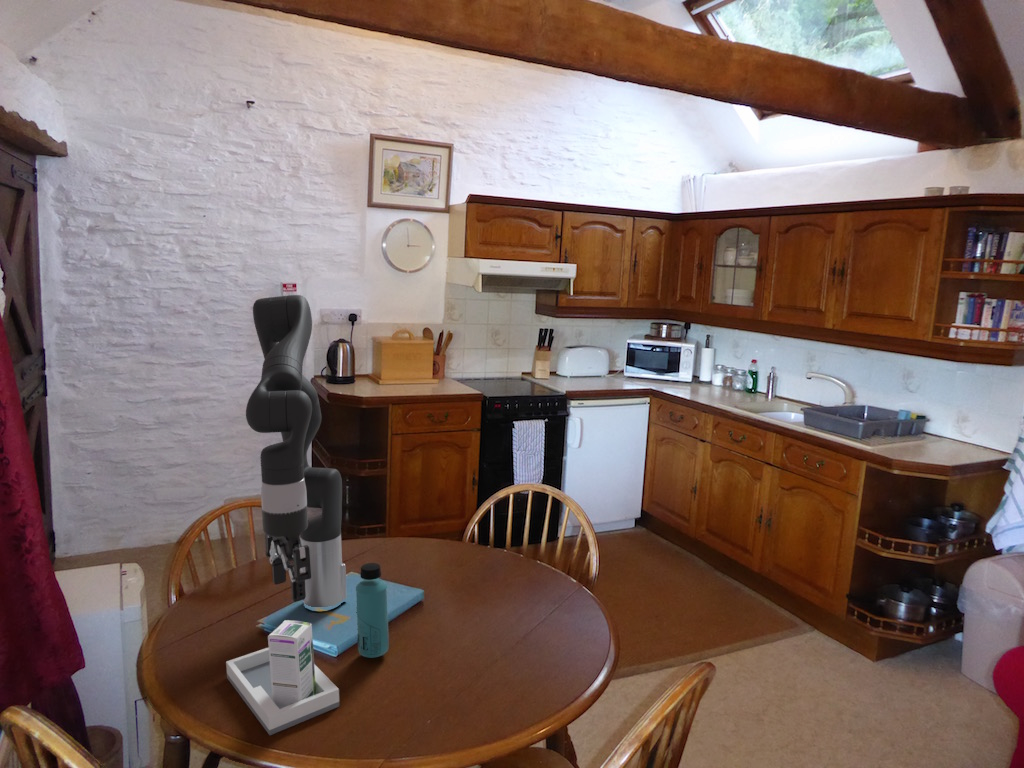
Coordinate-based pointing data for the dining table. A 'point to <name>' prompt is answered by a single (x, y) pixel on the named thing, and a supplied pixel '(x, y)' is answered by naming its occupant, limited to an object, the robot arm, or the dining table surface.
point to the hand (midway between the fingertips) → (289, 591)
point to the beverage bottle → (372, 612)
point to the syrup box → (291, 663)
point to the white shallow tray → (256, 691)
